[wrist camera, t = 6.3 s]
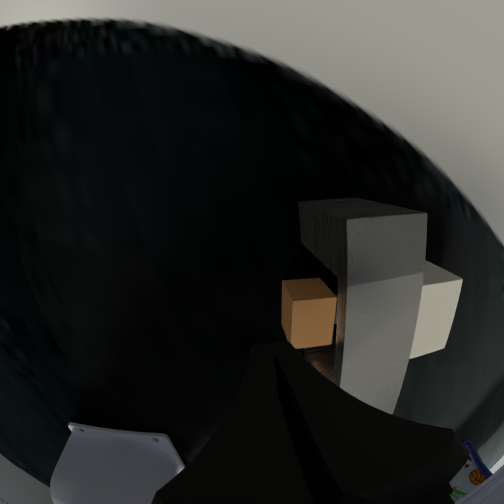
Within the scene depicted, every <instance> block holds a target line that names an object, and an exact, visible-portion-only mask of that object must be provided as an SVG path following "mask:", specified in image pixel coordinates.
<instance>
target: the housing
mask: <svg viewBox="0 0 504 504" xmlns="http://www.w3.org/2000/svg"><path fill="white" fill-rule="evenodd" d="M298 206H299V219H300V235H301V243H302V244H303V245H304V246H305V247H306V248H307V249H308V250H309V251H310V252H311V253H313V254H314V255H315V256H316V257H317V258H318V259H319V260H320V261H321V262H322V263H323V264H324V265H325V266H326V267H327V268H328V269H329V270H330V271H331V272H333V273H334V274H335V275H336V276H337V277H338V301H337V329H336V339H334V340H332V343H331V344H330V345H323V346H315V347H307V348H304V349H305V359H306V360H307V361H308V362H309V363H310V364H312V365H313V366H314V367H315V368H316V369H317V370H318V371H319V372H321V373H322V374H323V375H324V376H325V377H327V378H328V379H329V380H330V381H332V382H333V383H334V384H336V385H337V386H339V387H340V388H341V389H343V390H344V391H346V392H347V393H349V394H351V395H352V396H354V397H356V398H357V399H359V400H361V401H363V402H365V403H367V404H369V405H371V406H373V407H375V408H378V409H380V410H382V411H384V412H387V413H389V414H393V411H394V408H395V405H396V402H397V399H398V396H399V393H400V390H401V386H402V383H403V380H404V376H405V372H406V369H407V365H408V361H409V357H410V353H411V348H412V344H413V339H414V334H415V329H416V324H417V319H418V313H419V307H420V300H421V293H422V285H423V277H424V267H425V255H426V238H427V213H425V212H420V211H416V210H412V209H407V208H403V207H398V206H394V205H389V204H384V203H379V202H374V201H369V200H364V199H359V198H343V199H329V200H316V201H303V202H298Z"/></svg>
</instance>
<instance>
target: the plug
mask: <svg viewBox="0 0 504 504" xmlns="http://www.w3.org/2000/svg"><path fill="white" fill-rule="evenodd" d="M462 280H463V279H461V278H460V277H458V276H456V275H454V274H452V273H450V272H448V271H446V270H444V269H442V268H440V267H438V266H436V265H434V264H432V263H430V262H428V261H426V260H425V267H424V277H423V285H422V293H421V300H420V307H419V313H418V319H417V324H416V329H415V334H414V339H413V344H412V348H411V353H410V357H409V359H411V358H414V357H418V356H421V355H424V354H428V353H431V352H434V351H437V350H440V349H443V348H444V347H445V344H446V341H447V338H448V335H449V332H450V329H451V325H452V322H453V318H454V314H455V311H456V307H457V303H458V299H459V294H460V290H461V285H462ZM337 301H338V294H334V293H333V292H332V291H331V290H330V289H329V288H328V287H327V285H326V284H325V283H324V282H323V281H322V280H321V278H310V279H296V280H282V326H283V329H284V332H285V335H286V338H287V340H288V341H289V342H290V343H291V344H292V345H293V346H294V347H295V348H296V349H299V348H307V347H315V346H323V345H330V344H331V343H332V336H333V328H334V324H337Z"/></svg>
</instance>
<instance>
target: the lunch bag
mask: <svg viewBox="0 0 504 504" xmlns="http://www.w3.org/2000/svg"><path fill="white" fill-rule="evenodd" d="M463 443H464V445H465V446H466V448H467V449H468V450H469V452H470V455H469V458H468V461H467V462H466V464H465V465H464V466H463V467H462V469H461V470H460V471H459V472H458V473H457V474H456V476H455V477H454V478H453V479H452V480H451V481H450V482H449V483H450V485H451V487H452V488H453V492H452V493H451V494H450V496H451V498H452V500H453V501H454V503H455V502H456V501H458V500H459V499H461V498H462V497H464V496H465V495H467V494H468V493H469V492H471V491H472V490H474V489H475V488H476V487H478V486H479V485H480V484H481V483H483V482H484V481H485V480H487V479H488V478H489V477H490V476H491V475H493V474H492V473H491V472H490V471H489V470H488V468H487V467H486V466H485V464H484V463H483V462H482V460H481V458H480V456H479V454H478V452H477V450H476V448H475V446H474V444H473V443H472V442H471V441H470V440H466V441H464V442H463Z"/></svg>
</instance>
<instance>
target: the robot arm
mask: <svg viewBox="0 0 504 504" xmlns="http://www.w3.org/2000/svg"><path fill="white" fill-rule="evenodd" d="M68 427H69V428H70V430H71V431H72V433H71V435H70V437H69V439H68V442H67V444H66V446H65V448H64V450H63V452H62V454H61V457H60V459H59V461H58V463H57V466H56V468H55V470H54V472H53V475H52V478H51V483H50V491H51V497H52V500H53V502H54V504H504V465H503V466H502V467H501V468H500V469H499V470H497V471H496V472H495V473H494V474H493V475H491V476H490V477H489V478H488V479H487V480H485V481H484V482H483V483H481V484H480V485H479V486H478V487H476V488H475V489H474V490H472V491H471V492H469V493H468V494H467V495H465V496H464V497H462V498H461V499H459V500H458V501H456V502H455V503H454V501H453V500H452V498H451V496H450V494H451V493H452V492H453V488H452V487H451V485H450V483H449V482H450V481H451V480H452V479H453V478H454V477H455V476H456V474H457V473H458V472H459V471H460V470H461V469H462V467H463V466H464V465H465V464H466V462H467V461H468V458H469V455H470V452H469V450H468V449H467V448H466V446H465V445H464V443H463V442H462V441H461V439H460V438H459V437H458V436H457V435H456V433H455V432H454V431H453V430H452V429H448V428H442V427H436V426H431V425H426V424H421V423H417V422H413V421H410V420H407V419H403V418H400V417H397V416H395V415H392V414H389V413H387V412H384V411H382V410H380V409H378V408H375V407H373V406H371V405H369V404H367V403H365V402H363V401H361V400H359V399H357V398H356V397H354V396H352V395H351V394H349V393H347V392H346V391H344V390H343V389H341V388H340V387H339V386H337V385H336V384H334V383H333V382H332V381H330V380H329V379H328V378H327V377H325V376H324V375H323V374H322V373H321V372H319V371H318V370H317V369H316V368H315V367H314V366H313V365H312V364H310V363H309V362H308V361H307V360H306V359H305V358H304V357H303V356H302V355H301V354H300V353H299V352H298V351H297V349H296V348H295V347H294V346H293V345H292V344H291V343H290V342H289V341H288V340H286V341H279V342H272V343H265V344H258V345H253V346H252V347H251V348H250V357H249V362H248V366H247V369H246V372H245V375H244V378H243V381H242V384H241V386H240V388H239V391H238V393H237V395H236V397H235V400H234V402H233V404H232V406H231V407H230V409H229V411H228V413H227V415H226V416H225V418H224V420H223V421H222V423H221V424H220V426H219V427H218V429H217V430H216V431H215V433H214V434H213V436H212V437H211V438H210V440H209V441H208V442H207V444H206V445H205V446H204V447H203V448H202V450H201V451H200V452H199V453H198V454H197V455H196V456H195V457H194V458H193V459H192V460H191V462H190V463H189V464H188V465H187V466H186V467H185V465H184V463H183V462H182V460H181V458H180V456H179V455H178V453H177V451H176V449H175V448H174V446H173V444H172V442H171V440H170V438H169V437H168V436H167V435H166V434H163V433H148V432H134V431H124V430H115V429H108V428H101V427H94V426H88V425H83V424H78V423H73V422H70V423H69V425H68ZM0 504H8V503H7V502H5V501H4V500H2V499H1V498H0Z"/></svg>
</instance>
